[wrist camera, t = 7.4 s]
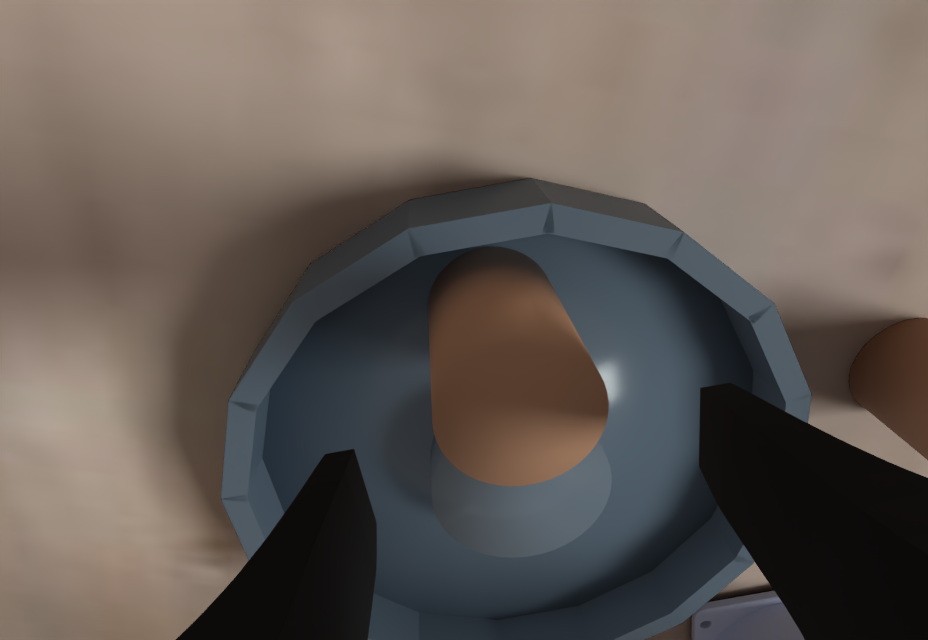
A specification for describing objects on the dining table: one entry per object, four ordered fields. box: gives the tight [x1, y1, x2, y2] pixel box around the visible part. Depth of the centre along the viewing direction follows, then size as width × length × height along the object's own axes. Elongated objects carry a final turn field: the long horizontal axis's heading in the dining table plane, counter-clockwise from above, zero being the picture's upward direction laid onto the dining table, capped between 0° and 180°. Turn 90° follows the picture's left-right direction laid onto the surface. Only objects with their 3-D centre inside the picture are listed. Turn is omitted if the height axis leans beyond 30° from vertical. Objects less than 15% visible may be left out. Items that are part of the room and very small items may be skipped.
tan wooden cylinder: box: [428, 247, 609, 486], centre depth 16 cm, size 4×4×6 cm
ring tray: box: [221, 178, 811, 640], centre depth 21 cm, size 19×19×3 cm
